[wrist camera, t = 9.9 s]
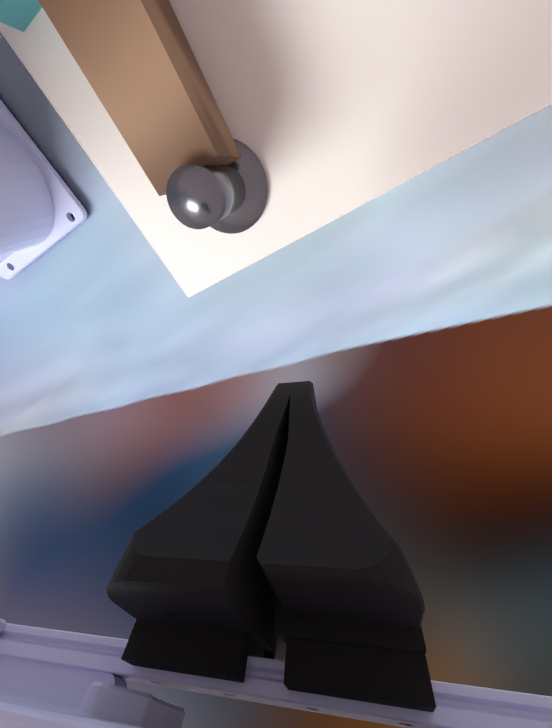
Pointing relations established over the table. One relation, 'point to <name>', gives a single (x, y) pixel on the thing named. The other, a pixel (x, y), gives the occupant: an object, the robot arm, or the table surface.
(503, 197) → the table surface
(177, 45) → the folding leg
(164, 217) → the board
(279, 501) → the robot arm
